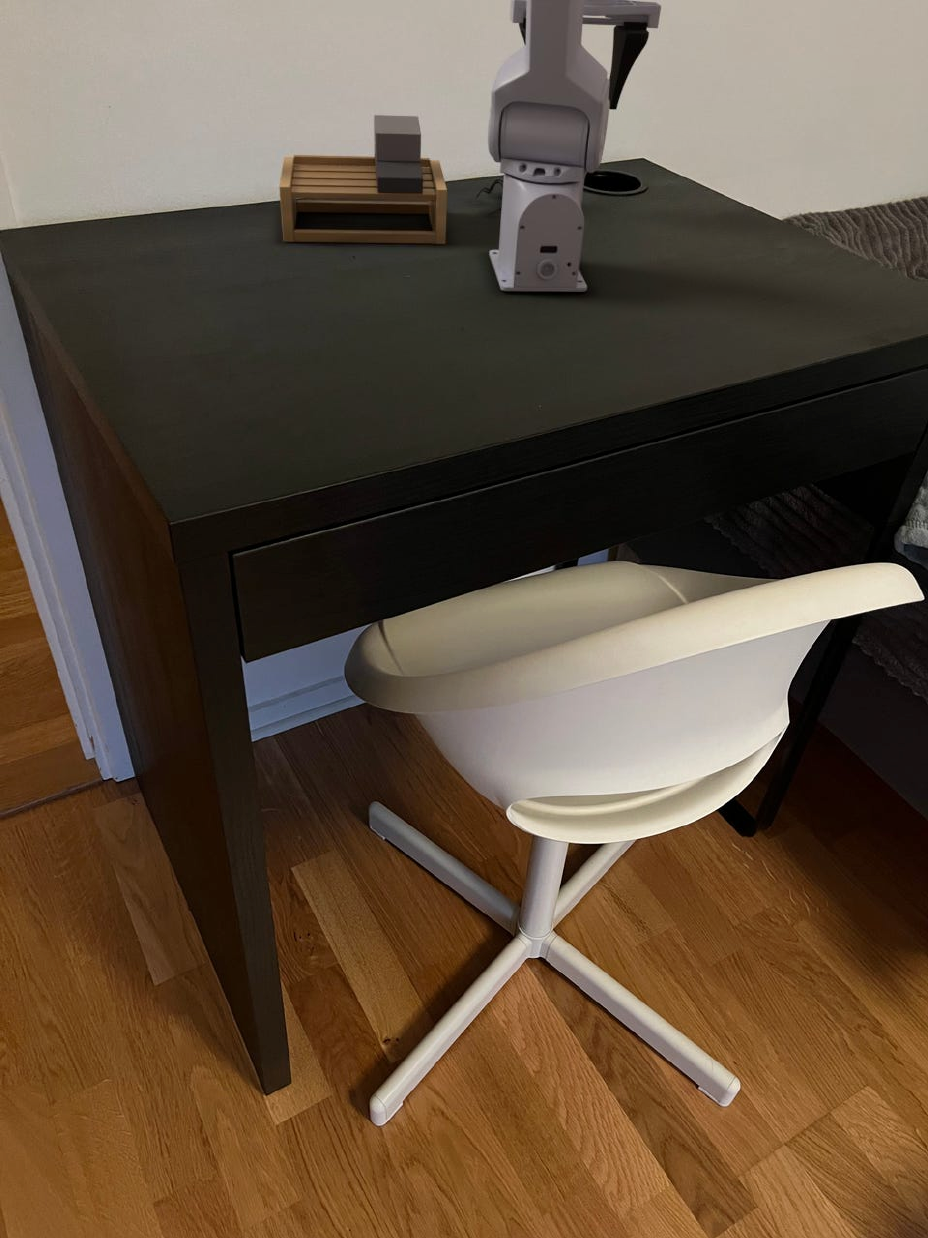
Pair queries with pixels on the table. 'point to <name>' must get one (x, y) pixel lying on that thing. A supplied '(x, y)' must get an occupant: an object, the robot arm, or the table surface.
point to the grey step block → (398, 154)
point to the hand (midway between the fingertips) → (574, 106)
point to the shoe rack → (356, 182)
